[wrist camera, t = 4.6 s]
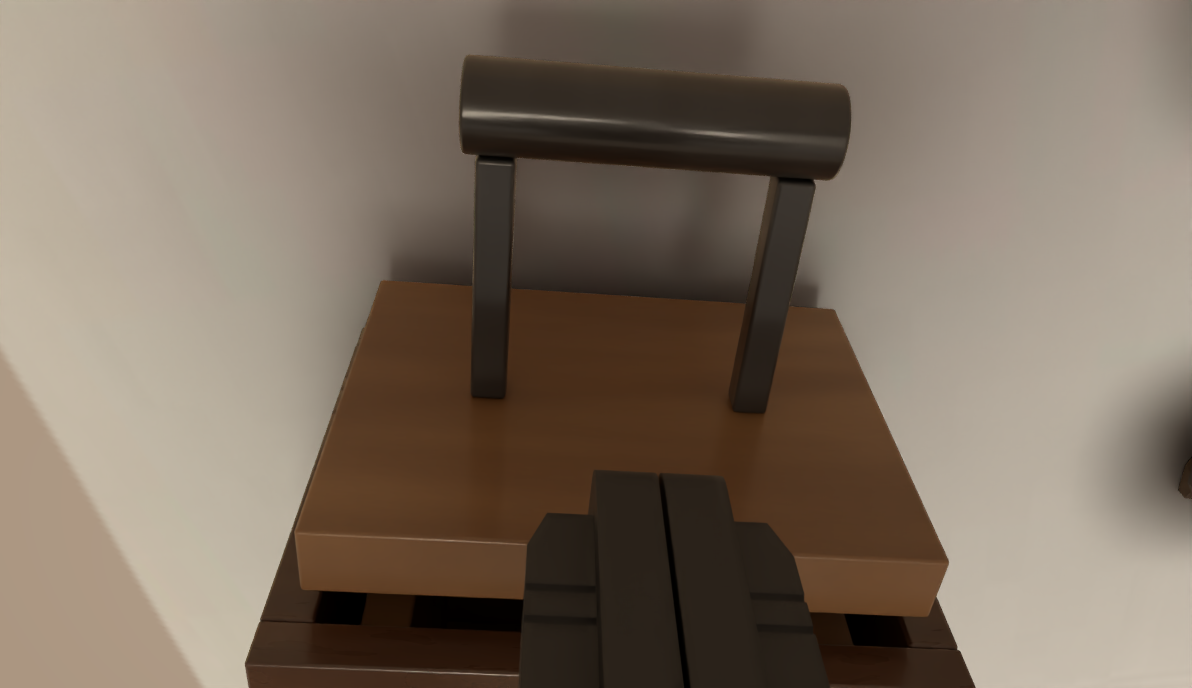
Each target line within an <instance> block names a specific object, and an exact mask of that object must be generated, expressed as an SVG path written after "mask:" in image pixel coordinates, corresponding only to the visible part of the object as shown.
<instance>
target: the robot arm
mask: <svg viewBox="0 0 1192 688" xmlns="http://www.w3.org/2000/svg"><path fill="white" fill-rule="evenodd" d="M804 595H805V594H804V591H803V587H802V583H801V580H800V576H799V573H798V569H797V565H796V562H795V558H794V556H793V555H792V553H791V552H790V551H789V550H788V548H787V547H786V546H785V545H784V543H783V542H782V541H781V540H780V538H779V537H778V536H777V535H776V533H775V532H774V531H773V530H772V528H771V527H770V526H769V525H768V523H757V522H737V521H734V518H733V513H732V508H731V503H730V499H729V494H728V489H727V485H726V482H725V479H724V478H723V476H714V475H695V474H675V473H660V474H659V476H657V474H656V473H651V472H632V471H612V470H594V471H593V476H592V483H591V491H590V500H589V509H588V515H587V514H566V513H547V514H546V515H545V517H544V518H543V520H542V522H541V523H540V525H539V526H538V528H537V530H536V531H535V533H534V534H533V536H532V538H531V539H530V541H529V542H528V544H527V553H526V568H525V582H524V597H523V611H522V626H521V642H520V662H519V682H518V688H830V685H829V682H828V678H827V674H826V671H825V667H824V663H823V660H822V656H821V652H820V649H819V645H818V642H817V638H816V634H813V623H812V620H811V616H810V612H809V609H808V605H807V602H805V601H804Z"/></svg>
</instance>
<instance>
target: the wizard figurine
mask: <svg viewBox="0 0 1192 688" xmlns="http://www.w3.org/2000/svg"><path fill="white" fill-rule="evenodd" d="M1178 490H1179V492H1180V493H1181V494H1182V495H1183V497H1184V498H1189V499H1192V457H1191V459H1190V460H1189V461H1188V463H1187V464H1186V466H1185V468H1184V471H1183V475H1182V478H1181V482H1180V485H1179V489H1178Z"/></svg>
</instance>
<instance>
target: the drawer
mask: <svg viewBox="0 0 1192 688" xmlns="http://www.w3.org/2000/svg"><path fill="white" fill-rule="evenodd" d="M850 131H851V102H850V96H849V93H848V90H847V88H846V87H845V86H843V85H841V84H834V83H822V82H809V81H797V80H784V79H772V78H759V77H747V76H734V75H722V74H709V73H697V72H684V71H672V70H659V69H647V68H634V67H621V66H609V65H596V64H584V63H571V62H559V61H546V60H534V59H521V58H509V57H496V56H484V55H471V54H469V55H466V57H465V59H464V62H463V67H462V75H461V85H460V101H459V141H460V148H461V151H462V153H464V154H470V155H476V159H475V183H474V232H473V282H472V286H466V285H450V284H435V283H419V282H404V281H388V280H383V281H381V282H380V285H379V288H378V291H377V293H376V296H375V299H374V302H373V305H372V308H371V311H370V314H369V317H368V319H367V322H366V325H365V328H364V331H363V334H362V337H361V340H360V343H359V346H358V348H357V351H356V354H355V357H354V360H353V363H352V366H351V369H350V372H349V375H348V377H347V380H346V383H345V386H344V389H343V392H342V395H341V398H340V401H339V403H338V406H337V409H336V412H335V415H334V418H333V421H332V424H331V427H330V430H329V432H328V435H327V438H326V441H325V444H324V447H323V450H322V453H321V456H320V458H319V461H318V464H317V467H316V470H315V473H314V476H313V479H312V482H311V485H310V487H309V490H308V493H307V496H306V499H305V502H304V505H303V508H302V511H301V514H300V516H299V519H298V522H297V525H296V528H295V531H294V533H295V542H296V551H297V560H298V569H299V578H300V586H301V589H303V590H312V591H335V592H358V593H368V594H367V598H366V603H365V607H364V611H363V615H362V620H361V624H360V625H370V626H394V627H418V628H442V629H466V630H490V631H515V632H521V626H522V611H523V597H524V582H525V568H526V553H527V544H528V542H529V541H530V539H531V538H532V536H533V534H534V533H535V531H536V530H537V528H538V526H539V525H540V523H541V522H542V520H543V518H544V517H545V515H546V514H547V513H566V514H587V515H588V509H589V500H590V491H591V483H592V476H593V471H594V470H612V471H632V472H651V473H656V474H657V476H659V474H660V473H675V474H695V475H714V476H723V478H724V479H725V482H726V485H727V489H728V494H729V499H730V503H731V508H732V513H733V518H734V521H737V522H757V523H768V525H769V526H770V527H771V528H772V530H773V531H774V532H775V533H776V535H777V536H778V537H779V538H780V540H781V541H782V542H783V543H784V545H785V546H786V547H787V548H788V550H789V551H790V552H791V553H792V555H793V556H794V558H795V562H796V565H797V569H798V573H799V576H800V580H801V583H802V587H803V591H804V594H805V595H804V601H805V602H807V605H808V609H809V612H810V616H811V620H812V623H813V634H816V638H817V642H818V644H829V645H853V646H854V644H853V641H852V638H851V635H850V631H849V628H848V625H847V622H846V618H845V615H844V614H863V615H886V616H909V617H927V616H928V615H929V613H930V611H931V608H932V606H933V603H934V601H935V598H936V595H937V593H938V590H939V588H940V585H941V583H942V580H943V578H944V575H945V572H946V570H947V567H948V565H949V561H948V558H947V556H946V554H945V551H944V549H943V547H942V545H941V543H940V540H939V538H938V536H937V534H936V532H935V529H934V527H933V525H932V523H931V521H930V518H929V516H928V514H927V512H926V510H925V507H924V505H923V503H922V501H921V499H920V496H919V494H918V492H917V490H916V488H915V486H914V483H913V481H912V479H911V477H910V475H909V472H908V470H907V468H906V466H905V464H904V461H903V459H902V457H901V455H900V453H899V450H898V448H897V446H896V444H895V442H894V439H893V437H892V435H891V433H890V431H889V428H888V426H887V424H886V422H885V420H884V417H883V415H882V413H881V411H880V409H879V406H878V404H877V402H876V400H875V398H874V395H873V393H872V391H871V389H870V387H869V385H868V382H867V380H866V378H865V376H864V374H863V371H862V369H861V367H860V365H859V363H858V360H857V358H856V356H855V354H854V352H853V349H852V347H851V345H850V343H849V341H848V338H847V336H846V334H845V332H844V330H843V327H842V325H841V323H840V321H839V319H838V316H837V314H836V312H835V310H833V309H823V308H808V307H792V306H790V301H791V297H792V292H793V288H794V283H795V279H796V274H797V270H798V265H799V261H800V256H801V252H802V247H803V243H804V239H805V234H806V230H807V225H808V221H809V216H810V212H811V207H812V203H813V198H814V194H815V189H816V184H815V182H814V180H825V181H829V180H832V179H834V178H835V177H836V176H837V174H838V173H839V171H840V169H841V167H842V164H843V162H844V159H845V156H846V152H847V149H848V144H849V138H850ZM517 158H524V159H538V160H552V161H565V162H579V163H593V164H606V165H620V166H634V167H647V168H661V169H675V170H688V171H702V172H716V173H729V174H743V175H757V176H770V182H769V188H768V193H767V198H766V203H765V208H764V213H763V218H762V223H761V228H760V234H759V239H758V244H757V249H756V254H755V259H754V264H753V269H752V274H751V280H750V285H749V290H748V295H747V300H746V304H745V303H730V302H714V301H699V300H683V299H668V298H652V297H637V296H621V295H606V294H590V293H575V292H559V291H544V290H528V289H512V288H511V283H512V261H513V239H514V216H515V194H516V172H517Z"/></svg>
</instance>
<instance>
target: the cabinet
mask: <svg viewBox="0 0 1192 688" xmlns="http://www.w3.org/2000/svg"><path fill="white" fill-rule="evenodd" d="M363 331H364V328H363V329H362V331H361V334H360V337H359V340H358V343H357V346H356V347H355V350H354V352H353V355H352V358H351V361H350V364H349V367H348V370H347V372H346V375H345V378H344V381H343V384H342V387H341V390H340V392H339V395H338V398H337V401H336V404H335V407H334V410H333V412H332V415H331V418H330V421H329V424H328V427H327V430H326V433H325V435H324V438H323V441H322V444H321V447H320V450H319V453H318V455H317V458H316V461H315V464H314V467H313V470H312V473H311V475H310V478H309V481H308V484H307V487H306V490H305V493H304V495H303V498H302V501H301V504H300V507H299V510H298V513H297V515H296V518H295V521H294V524H293V527H292V530H291V533H290V535H289V538H288V541H287V544H286V547H285V550H284V553H283V556H282V558H281V561H280V564H279V567H278V570H277V573H276V576H275V578H274V581H273V584H272V587H271V590H270V593H269V596H268V598H267V601H266V604H265V607H264V610H263V613H262V616H261V618H260V621H261V622H260V623H259V624H258V627H257V630H256V633H255V636H254V639H253V641H252V644H251V647H250V650H249V653H248V656H247V659H246V661H245V667H246V673H247V680H248V686H249V688H518V682H519V662H520V642H521V632H515V631H490V630H466V629H442V628H418V627H394V626H370V625H360V624H361V620H362V615H363V611H364V607H365V603H366V598H367V594H368V593H358V592H335V591H312V590H303V589H301V586H300V578H299V569H298V560H297V551H296V542H295V533H294V531H295V528H296V525H297V522H298V519H299V516H300V514H301V511H302V508H303V505H304V502H305V499H306V496H307V493H308V490H309V487H310V485H311V482H312V479H313V476H314V473H315V470H316V467H317V464H318V461H319V458H320V456H321V453H322V450H323V447H324V444H325V441H326V438H327V435H328V432H329V430H330V427H331V424H332V421H333V418H334V415H335V412H336V409H337V406H338V403H339V401H340V398H341V395H342V392H343V389H344V386H345V383H346V380H347V377H348V375H349V372H350V369H351V366H352V363H353V360H354V357H355V354H356V351H357V348H358V346H359V343H360V340H361V337H362V334H363ZM844 615H845V618H846V622H847V625H848V628H849V631H850V635H851V638H852V641H853V644H854V646H853V645H829V644H818V645H819V649H820V652H821V656H822V660H823V663H824V667H825V671H826V674H827V678H828V682H829V685H830V688H976V687H975V685H974V683H973V680H972V678H971V676H970V673H969V671H968V669H967V666H966V664H965V661H964V659H963V657H962V654H961V652H960V651H959V650H957V644H956V642H955V640H954V637H953V635H952V632H951V630H950V628H949V625H948V623H947V621H946V618H945V616H944V613H943V611H942V609H941V606H940V604H939V602H938V599H937V597H936V598H935V601H934V603H933V606H932V608H931V611H930V613H929V615H928V616H927V617H909V616H886V615H863V614H844Z"/></svg>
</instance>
